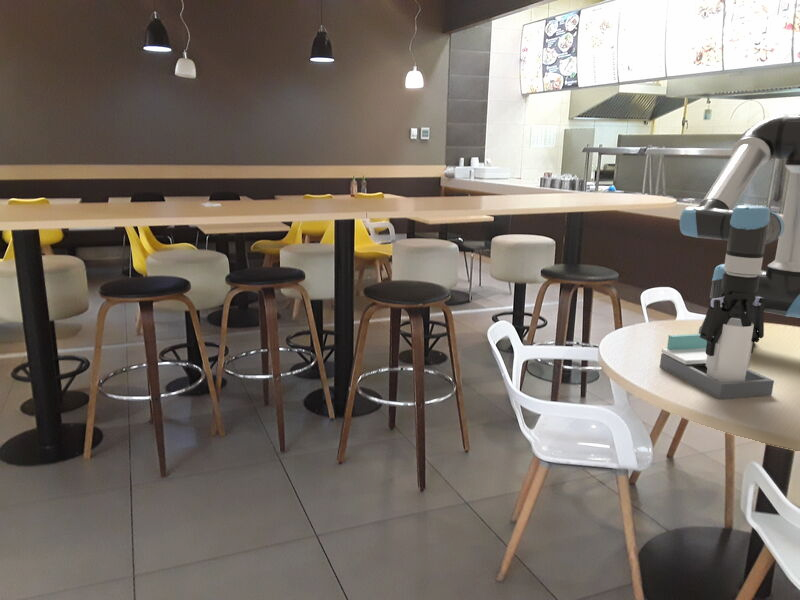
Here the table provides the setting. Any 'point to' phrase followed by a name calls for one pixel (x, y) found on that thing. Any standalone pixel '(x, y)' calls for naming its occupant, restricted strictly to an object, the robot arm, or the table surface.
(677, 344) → the cover
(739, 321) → the cup
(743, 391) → the grey shallow rectangular tray
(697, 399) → the table surface
